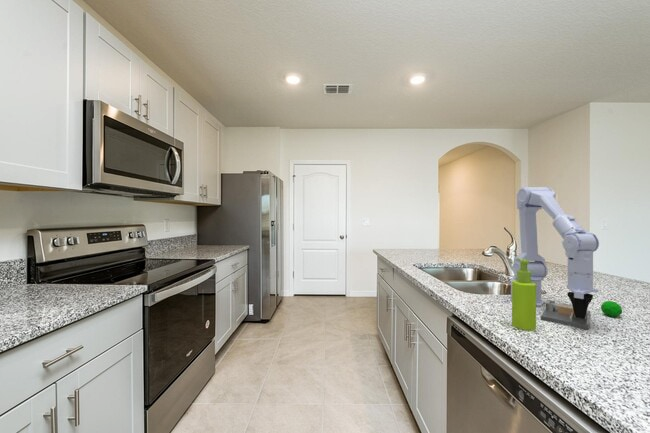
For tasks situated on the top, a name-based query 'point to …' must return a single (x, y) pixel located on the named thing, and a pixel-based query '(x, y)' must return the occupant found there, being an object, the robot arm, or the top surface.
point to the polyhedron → (611, 309)
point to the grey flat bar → (562, 305)
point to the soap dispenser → (524, 299)
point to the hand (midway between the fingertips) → (580, 317)
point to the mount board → (564, 316)
